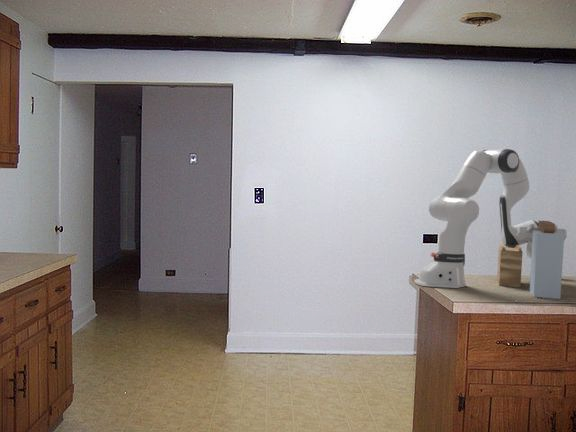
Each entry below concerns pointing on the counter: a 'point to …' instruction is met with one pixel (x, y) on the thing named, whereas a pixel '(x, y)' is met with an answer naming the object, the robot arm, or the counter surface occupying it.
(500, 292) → the counter surface
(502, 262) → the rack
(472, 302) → the counter surface
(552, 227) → the walnut bar
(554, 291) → the stand
